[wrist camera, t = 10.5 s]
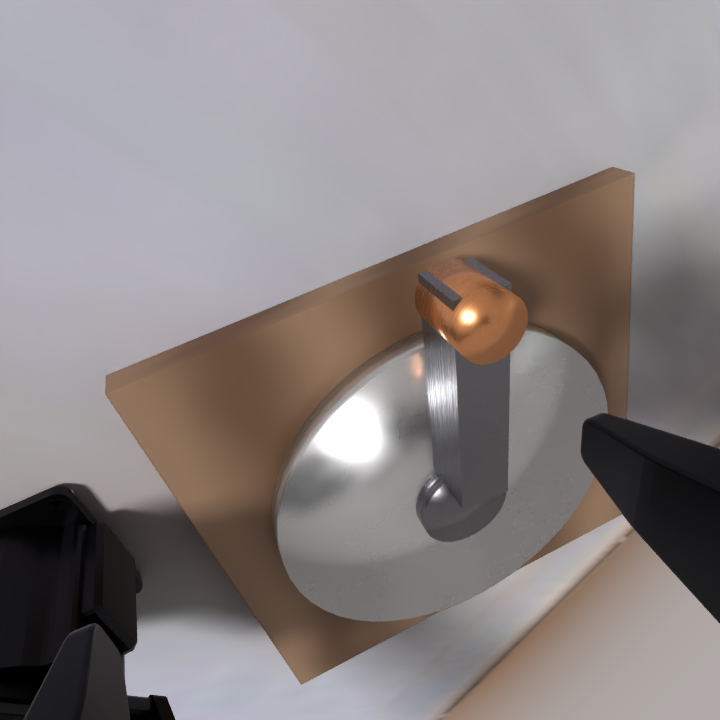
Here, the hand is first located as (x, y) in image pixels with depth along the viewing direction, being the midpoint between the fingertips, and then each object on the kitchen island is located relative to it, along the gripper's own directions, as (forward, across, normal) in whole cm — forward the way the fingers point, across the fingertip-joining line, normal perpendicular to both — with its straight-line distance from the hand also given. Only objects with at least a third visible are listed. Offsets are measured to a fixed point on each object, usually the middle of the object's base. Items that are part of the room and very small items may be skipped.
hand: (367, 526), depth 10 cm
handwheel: (+10, -6, +10) cm, 16 cm away
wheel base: (+12, -6, +11) cm, 18 cm away
